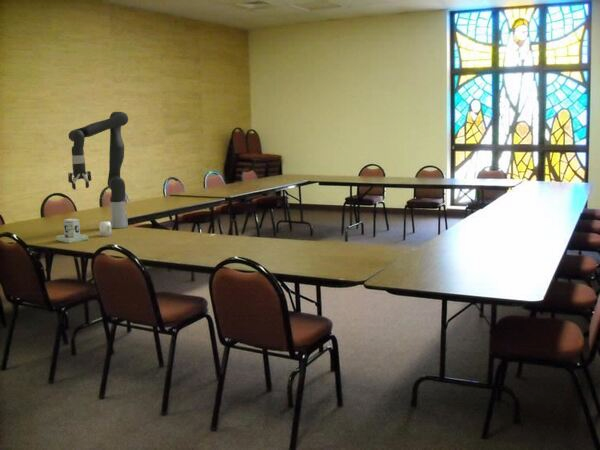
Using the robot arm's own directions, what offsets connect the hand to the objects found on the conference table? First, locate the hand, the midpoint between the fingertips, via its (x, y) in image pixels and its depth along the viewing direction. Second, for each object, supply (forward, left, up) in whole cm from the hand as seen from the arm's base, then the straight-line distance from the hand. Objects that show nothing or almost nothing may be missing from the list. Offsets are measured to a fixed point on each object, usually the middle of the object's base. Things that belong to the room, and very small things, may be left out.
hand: (80, 188), depth 405 cm
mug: (-4, +20, -28) cm, 35 cm away
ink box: (+17, +17, -28) cm, 36 cm away
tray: (+17, +17, -28) cm, 37 cm away
